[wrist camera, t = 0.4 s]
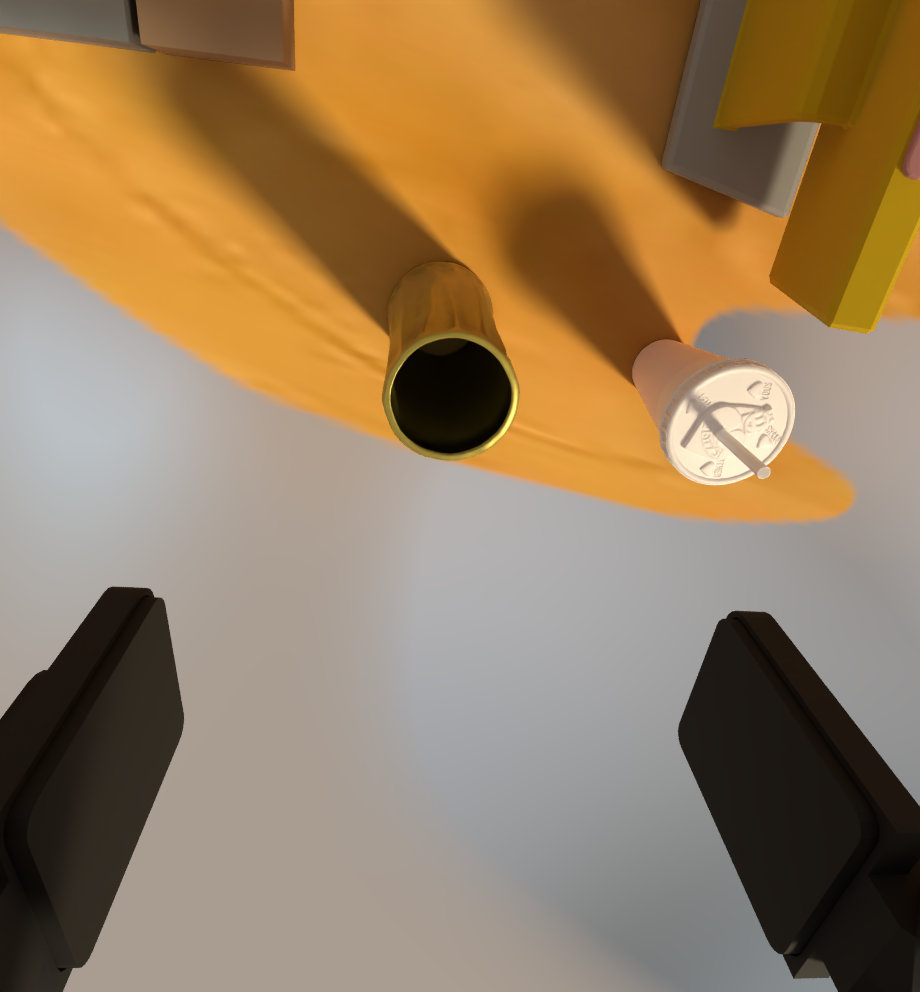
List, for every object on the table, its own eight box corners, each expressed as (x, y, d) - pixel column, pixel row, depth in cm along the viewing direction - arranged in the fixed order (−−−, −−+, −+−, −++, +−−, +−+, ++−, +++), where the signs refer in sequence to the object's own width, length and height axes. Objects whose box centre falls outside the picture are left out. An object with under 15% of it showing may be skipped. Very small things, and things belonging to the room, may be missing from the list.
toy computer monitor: (765, 276, 36) (984, 349, 22) (636, 260, 35) (779, 326, 21) (931, -210, 26) (1500, -620, 12) (759, -248, 25) (1166, -734, 12)
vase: (376, 351, 36) (355, 451, 24) (402, 245, 34) (392, 296, 21) (474, 378, 38) (501, 487, 25) (506, 278, 35) (555, 344, 22)
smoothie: (598, 341, 37) (687, 432, 25) (701, 299, 36) (847, 370, 24) (624, 431, 40) (716, 552, 28) (721, 394, 39) (859, 501, 27)
